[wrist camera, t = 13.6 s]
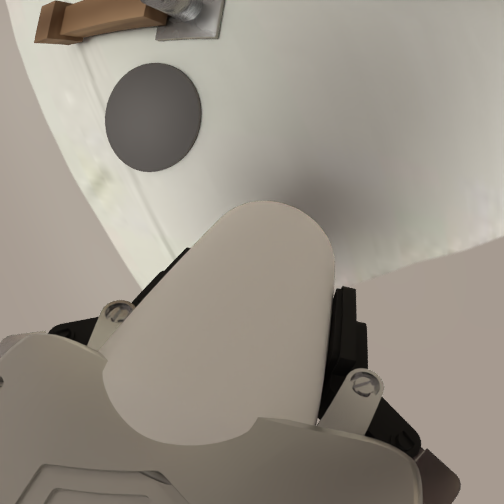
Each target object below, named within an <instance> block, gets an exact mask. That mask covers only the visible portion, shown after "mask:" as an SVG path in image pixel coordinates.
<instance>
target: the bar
mask: <svg viewBox="0 0 504 504" xmlns="http://www.w3.org/2000/svg"><path fill="white" fill-rule="evenodd" d="M167 15H168V14H166V13H164V12H162V11H160V10H157V9H155V8H153V7H151V6H148V5H146V4H144V3H142V2H141V1H140V0H83V1H80V2H77V3H74V4H71V3H66V2H61V1H56V0H55V1H53V2H51V3H49V4H47V5H44V6H42V9H41V13H40V17H39V21H38V26H37V31H36V36H35V41H34V43H48V44H64V45H71V44H75V43H79V42H83V38H85V37H89V36H93V35H98V34H103V33H108V32H114V31H120V30H126V29H133V28H141V27H149V26H159V25H166V20H167Z"/></svg>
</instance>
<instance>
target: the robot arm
mask: <svg viewBox="0 0 504 504" xmlns="http://www.w3.org/2000/svg"><path fill="white" fill-rule="evenodd" d="M189 250H190V248H186V249H185V250H184V251H183V252H182V253H181V254H180V255H179V256H178V257H177V258H176V259H175V260H174V261H173V262H172V263H171V264H170V265H169V266H168V267H167V269H166V270H165V271H161V272H160V273H159V274H158V275H157V276H156V277H155V278H154V279H153V280H152V281H151V282H150V283H149V285H148V286H147V287H146V288H145V289H144V290H143V291H142V292H141V293H140V294H139V295H138V296H137V298H135V299H134V301H133V302H132V303H130V302H128V301H124V300H117V301H113V302H111V303H109V304H107V305H106V306H105V307H104V308H103V310H102V311H101V313H100V316H99V317H96V318H90V319H86V320H80V321H75V322H69V323H64V324H60V325H57V326H55V327H53V328H52V329H51V330H50V331H49V333H48V334H47V333H46V331H40V332H33V333H26V334H17V335H10V336H7V337H6V338H4V339H3V340H2V341H1V343H0V504H452V502H453V501H454V499H455V498H456V497H457V495H458V493H459V491H460V487H461V483H460V480H459V478H458V476H457V475H456V474H455V473H454V472H453V471H451V470H450V469H449V468H448V467H447V466H446V465H445V464H444V463H443V462H442V461H441V460H439V459H438V458H437V457H436V456H435V455H434V454H433V453H432V452H430V450H428V449H426V450H424V449H423V448H421V440H420V437H419V435H418V433H417V432H416V431H415V430H414V429H413V428H412V427H411V426H410V425H409V424H408V423H407V422H406V421H405V420H404V419H403V418H402V417H401V416H400V415H399V414H398V413H397V412H396V411H395V410H394V409H393V408H392V407H391V406H390V405H389V404H388V402H387V401H386V400H384V398H383V397H382V394H383V391H384V384H383V381H382V379H381V378H380V377H379V376H378V375H377V374H376V373H375V372H373V371H371V370H368V352H367V351H368V350H367V326H366V324H365V323H361V322H357V321H356V289H353V288H349V287H345V286H342V288H341V289H338V288H337V289H336V292H335V295H334V298H333V306H332V316H331V326H330V336H329V344H328V352H327V360H326V368H325V375H324V382H323V388H322V394H321V401H320V406H319V412H318V418H319V419H320V421H319V423H318V424H317V426H314V425H309V424H305V423H300V422H296V421H291V420H287V419H276V418H263V417H258V418H257V420H256V422H255V423H254V424H253V426H252V427H251V429H250V430H249V431H248V432H246V433H244V434H242V435H241V436H238V437H235V438H233V439H230V440H227V441H222V442H218V443H213V444H206V445H175V444H167V443H162V442H158V441H155V440H152V439H149V438H147V437H145V436H143V435H141V434H140V433H138V432H137V431H135V430H134V429H133V428H132V427H130V426H129V425H128V424H127V423H126V422H125V421H124V420H123V419H122V417H121V416H120V415H119V414H118V412H117V411H116V409H115V408H114V406H113V405H112V403H111V401H110V399H109V397H108V394H107V392H106V389H105V386H104V382H103V370H104V368H105V366H106V363H107V362H108V360H107V359H106V358H105V357H104V355H103V354H102V353H100V352H98V351H99V350H100V349H101V347H102V346H103V345H104V344H105V343H106V341H107V340H108V339H109V338H110V337H111V336H112V334H113V333H114V332H115V331H116V330H117V328H118V327H119V326H120V325H121V324H122V323H123V322H124V320H125V319H126V318H127V317H128V316H129V315H130V314H131V313H132V311H133V310H134V309H135V308H136V307H137V306H138V305H139V304H140V302H141V301H142V300H143V299H144V298H145V297H146V296H147V295H148V294H149V292H150V291H151V290H152V289H153V288H154V287H155V286H156V285H157V284H158V283H159V281H160V280H161V279H162V278H163V277H164V276H165V275H166V274H167V273H168V272H169V271H170V270H171V269H172V267H173V266H174V265H175V264H176V263H177V262H178V261H179V260H180V259H181V258H182V257H183V256H184V255H185V254H186V253H187V252H188V251H189ZM139 471H155V472H159V473H161V474H162V475H163V476H165V477H166V478H167V480H168V481H169V482H170V483H171V484H172V485H167V484H164V483H161V482H159V481H156V480H154V479H152V478H149V477H147V476H145V475H143V474H141V473H139Z"/></svg>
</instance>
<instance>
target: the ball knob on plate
mask: <svg viewBox="0 0 504 504" xmlns="http://www.w3.org/2000/svg"><path fill="white" fill-rule="evenodd" d="M140 1H141V2H142V3H144V4H146V5H148V6H151V7H153V8H155V9H157V10H160V11H162V12H164V13H166V14H168V15H167V20H166V25H159V26H158V27H157V33H156V39H155V40H158V41H166V40H182V39H218V37H219V31H220V25H221V19H222V13H223V8H224V2H225V0H140Z"/></svg>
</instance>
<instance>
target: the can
mask: <svg viewBox="0 0 504 504" xmlns="http://www.w3.org/2000/svg"><path fill="white" fill-rule="evenodd" d="M334 279H335V259H334V253H333V249H332V246H331V244H330V241H329V239H328V237H327V236H326V234H325V232H324V231H323V230H322V228H321V227H320V226H319V225H318V224H317V223H316V222H315V221H314V220H313V219H312V218H311V217H309V216H308V215H307V214H305V213H304V212H302V211H300V210H299V209H297V208H295V207H292V206H290V205H287V204H284V203H280V202H274V201H254V202H249V203H245V204H242V205H240V206H237V207H235V208H233V209H232V210H230V211H229V212H227V213H226V214H225V215H224V216H222V217H221V218H220V219H219V220H218V221H217V222H216V223H215V224H214V225H213V226H212V227H211V228H210V229H209V230H208V231H207V232H206V233H205V234H204V235H203V236H202V237H201V238H200V239H199V240H198V241H197V242H196V243H195V244H194V245H193V246H192V247H191V248H190V250H189V251H188V252H187V253H186V254H185V255H184V256H183V257H182V258H181V259H180V260H179V261H178V262H177V263H176V264H175V265H174V266H173V267H172V269H171V270H170V271H169V272H168V273H167V274H166V275H165V276H164V277H163V278H162V279H161V280H160V281H159V283H158V284H157V285H156V286H155V287H154V288H153V289H152V290H151V291H150V292H149V294H148V295H147V296H146V297H145V298H144V299H143V300H142V301H141V302H140V304H139V305H138V306H137V307H136V308H135V309H134V310H133V311H132V313H131V314H130V315H129V316H128V317H127V318H126V319H125V320H124V322H123V323H122V324H121V325H120V326H119V327H118V328H117V330H116V331H115V332H114V333H113V334H112V336H111V337H110V338H109V339H108V340H107V341H106V343H105V344H104V345H103V346H102V347H101V349H100V350H99V351H98V352H100V353H102V354H103V355H104V357H105V358H106V359H107V360H108V362H107V363H106V366H105V368H104V370H103V382H104V386H105V389H106V392H107V394H108V397H109V399H110V401H111V403H112V405H113V406H114V408H115V409H116V411H117V412H118V414H119V415H120V416H121V417H122V419H123V420H124V421H125V422H126V423H127V424H128V425H129V426H130V427H132V428H133V429H134V430H135V431H137V432H138V433H140V434H141V435H143V436H145V437H147V438H149V439H152V440H155V441H158V442H162V443H167V444H175V445H206V444H213V443H218V442H222V441H227V440H230V439H233V438H235V437H238V436H241V435H242V434H244V433H246V432H248V431H249V430H250V429H251V427H252V426H253V424H254V423H255V422H256V420H257V418H258V417H263V418H276V419H287V420H291V421H296V422H300V423H305V424H309V425H314V426H316V423H317V418H318V412H319V406H320V401H321V394H322V388H323V382H324V375H325V368H326V360H327V352H328V344H329V336H330V326H331V316H332V306H333V293H334ZM139 473H141V474H143V475H145V476H147V477H149V478H152V479H154V480H156V481H159V482H161V483H164V484H167V485H172V484H171V483H170V482H169V481H168V480H167V478H166V477H165V476H163V475H162V474H161V473H159V472H155V471H139Z"/></svg>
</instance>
